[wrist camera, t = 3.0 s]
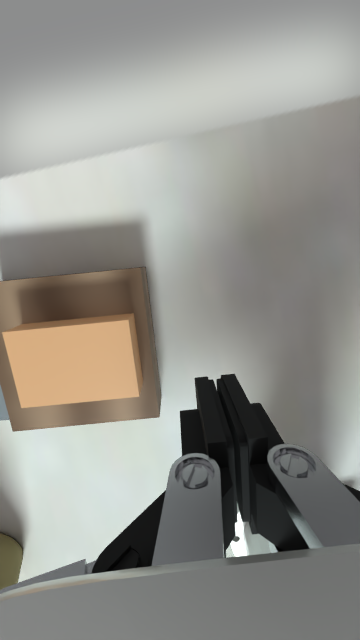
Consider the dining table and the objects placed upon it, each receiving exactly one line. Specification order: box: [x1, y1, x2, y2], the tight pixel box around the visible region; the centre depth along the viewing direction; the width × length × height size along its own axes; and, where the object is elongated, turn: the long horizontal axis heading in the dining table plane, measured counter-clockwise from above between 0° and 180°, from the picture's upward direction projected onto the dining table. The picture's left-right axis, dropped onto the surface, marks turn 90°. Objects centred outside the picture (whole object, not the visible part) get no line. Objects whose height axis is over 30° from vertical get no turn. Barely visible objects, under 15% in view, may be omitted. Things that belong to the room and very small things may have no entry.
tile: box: [2, 313, 143, 408], centre depth 20 cm, size 9×6×2 cm, turn 95°
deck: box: [0, 267, 161, 431], centre depth 23 cm, size 13×13×4 cm
